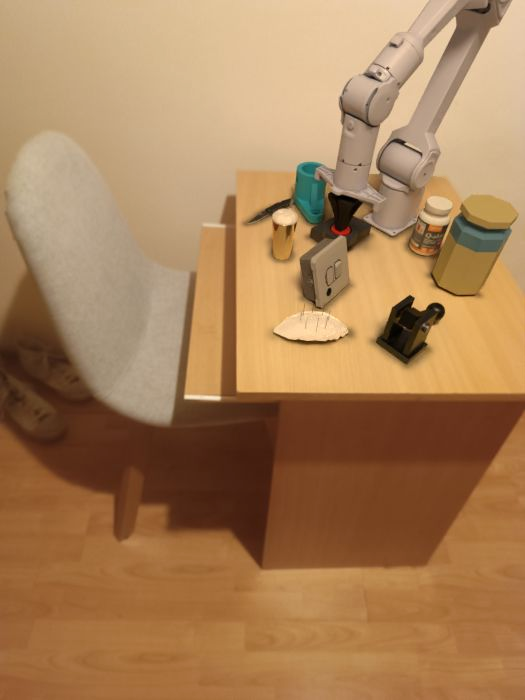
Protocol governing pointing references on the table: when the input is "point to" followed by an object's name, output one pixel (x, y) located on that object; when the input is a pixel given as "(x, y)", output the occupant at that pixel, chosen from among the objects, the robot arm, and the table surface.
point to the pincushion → (311, 326)
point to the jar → (474, 244)
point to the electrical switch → (325, 270)
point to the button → (344, 232)
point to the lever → (420, 314)
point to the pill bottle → (431, 226)
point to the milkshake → (283, 232)
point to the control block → (356, 234)
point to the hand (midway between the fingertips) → (340, 228)
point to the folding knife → (271, 210)
